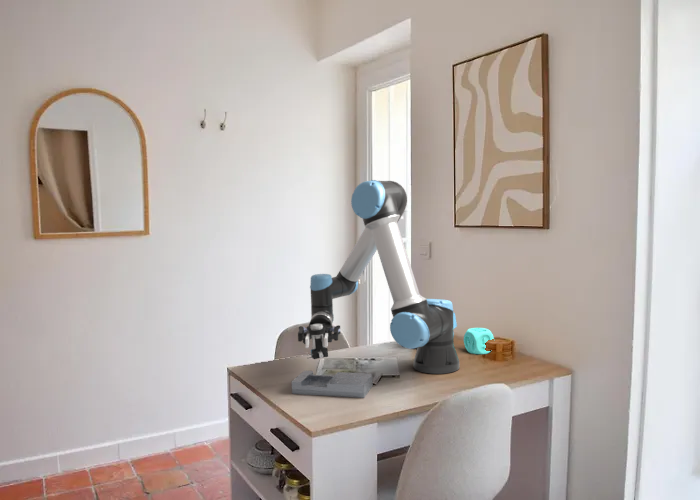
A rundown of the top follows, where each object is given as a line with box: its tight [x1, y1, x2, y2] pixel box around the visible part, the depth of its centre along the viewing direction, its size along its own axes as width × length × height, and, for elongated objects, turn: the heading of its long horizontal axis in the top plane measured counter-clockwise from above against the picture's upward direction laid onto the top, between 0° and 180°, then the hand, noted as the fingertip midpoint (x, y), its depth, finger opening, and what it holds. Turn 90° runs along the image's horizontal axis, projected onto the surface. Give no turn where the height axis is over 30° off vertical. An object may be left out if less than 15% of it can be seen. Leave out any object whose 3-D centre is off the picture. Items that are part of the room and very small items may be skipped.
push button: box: [306, 324, 329, 360], centre depth 168 cm, size 7×5×10 cm
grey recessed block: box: [291, 370, 374, 399], centre depth 168 cm, size 22×11×4 cm, turn 75°
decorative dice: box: [463, 327, 495, 355], centre depth 204 cm, size 8×8×8 cm
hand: (316, 343), depth 162 cm, fingers closed on push button, 5 cm apart
